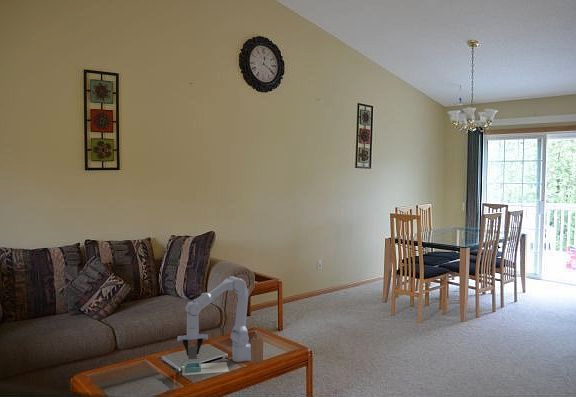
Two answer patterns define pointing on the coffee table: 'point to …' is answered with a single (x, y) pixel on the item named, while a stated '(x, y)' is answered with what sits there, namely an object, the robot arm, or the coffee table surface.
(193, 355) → the cable plug
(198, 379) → the coffee table surface
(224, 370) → the board
